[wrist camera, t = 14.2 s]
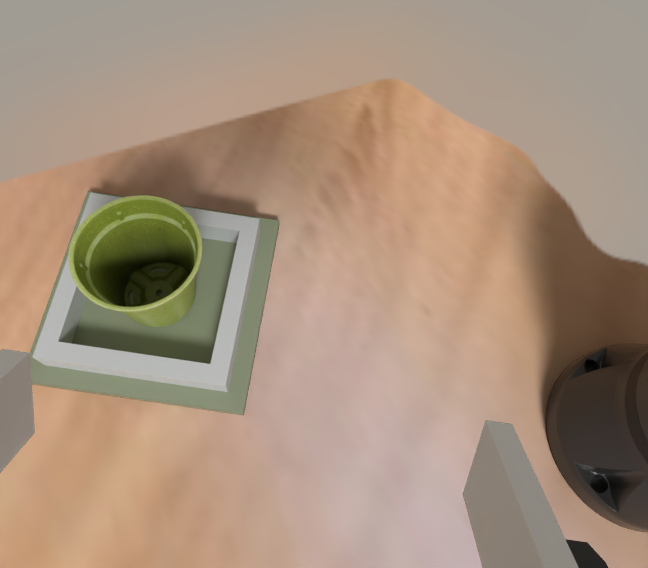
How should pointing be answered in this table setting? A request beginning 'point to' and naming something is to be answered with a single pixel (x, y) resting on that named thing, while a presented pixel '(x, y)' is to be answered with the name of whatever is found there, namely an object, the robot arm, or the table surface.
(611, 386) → the robot arm
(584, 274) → the table surface
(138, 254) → the plant pot
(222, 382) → the grey green square tray
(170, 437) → the table surface
